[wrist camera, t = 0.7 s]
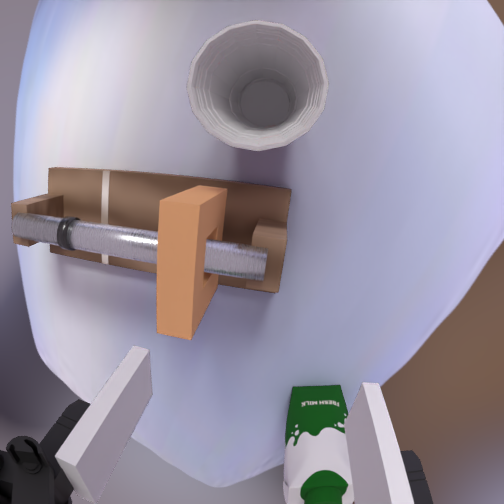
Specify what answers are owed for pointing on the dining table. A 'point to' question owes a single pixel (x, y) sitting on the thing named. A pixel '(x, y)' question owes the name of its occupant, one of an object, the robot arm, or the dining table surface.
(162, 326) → the collar
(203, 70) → the plastic cup
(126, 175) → the pipe stand
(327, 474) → the milk carton
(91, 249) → the steel pipe
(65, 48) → the dining table surface
